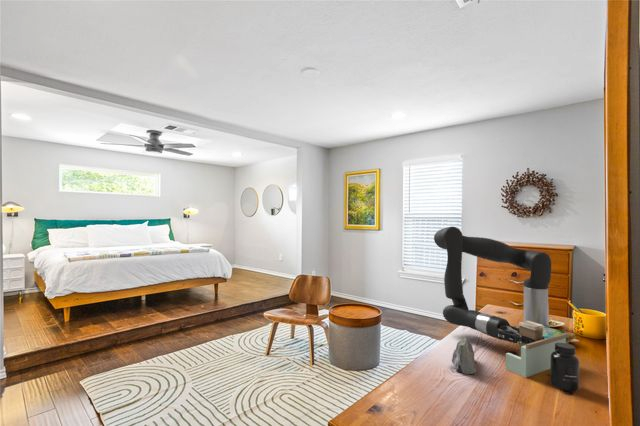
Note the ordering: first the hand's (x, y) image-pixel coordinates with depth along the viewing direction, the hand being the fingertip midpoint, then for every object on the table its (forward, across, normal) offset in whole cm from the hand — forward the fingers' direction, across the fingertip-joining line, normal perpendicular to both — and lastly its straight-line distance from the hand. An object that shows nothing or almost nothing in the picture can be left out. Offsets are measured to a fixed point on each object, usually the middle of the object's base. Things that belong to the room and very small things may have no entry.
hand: (539, 341), depth 111 cm
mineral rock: (-11, -20, +9) cm, 25 cm away
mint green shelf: (-1, 0, +8) cm, 8 cm away
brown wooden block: (-3, 0, +7) cm, 8 cm away
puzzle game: (-11, +22, +9) cm, 26 cm away
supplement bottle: (+11, -6, +8) cm, 15 cm away
